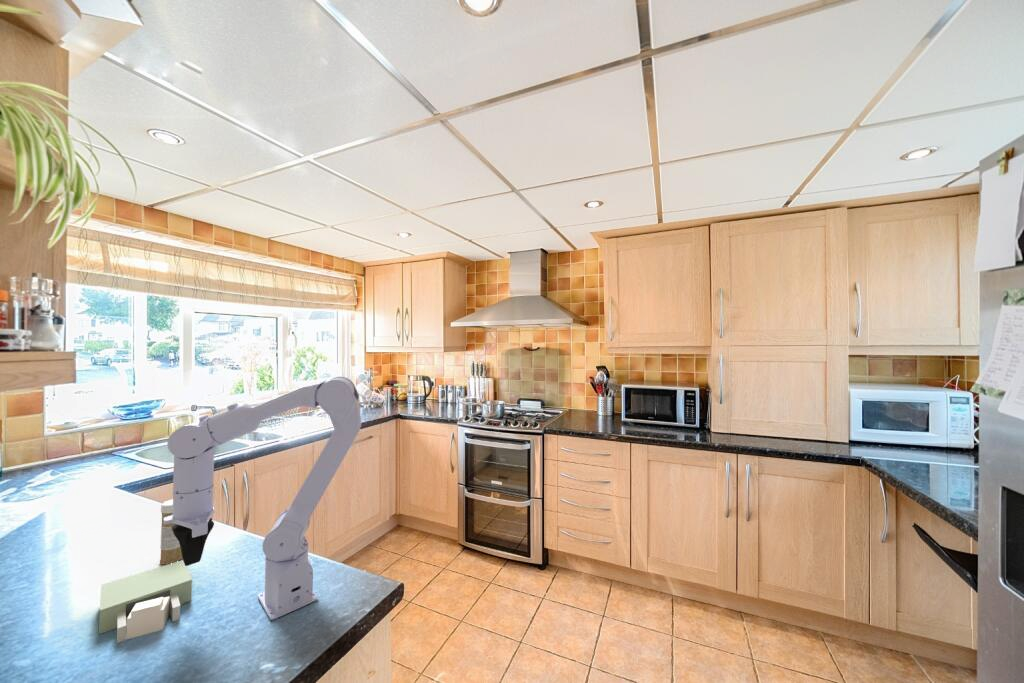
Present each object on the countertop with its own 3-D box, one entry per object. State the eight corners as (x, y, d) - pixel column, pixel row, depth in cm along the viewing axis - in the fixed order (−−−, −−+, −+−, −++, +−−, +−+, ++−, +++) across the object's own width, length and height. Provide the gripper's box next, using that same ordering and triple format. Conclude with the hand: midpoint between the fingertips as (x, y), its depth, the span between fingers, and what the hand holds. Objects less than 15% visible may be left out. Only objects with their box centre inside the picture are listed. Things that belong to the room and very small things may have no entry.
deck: (195, 613, 69) (195, 591, 69) (98, 650, 60) (98, 625, 60) (184, 578, 79) (185, 559, 79) (100, 606, 71) (101, 584, 71)
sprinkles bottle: (170, 555, 88) (172, 497, 88) (191, 554, 89) (192, 496, 89) (153, 566, 84) (155, 505, 84) (175, 565, 84) (177, 504, 84)
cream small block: (162, 629, 65) (163, 603, 65) (126, 640, 63) (126, 612, 63) (169, 615, 68) (169, 590, 69) (134, 625, 66) (135, 599, 66)
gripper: (159, 484, 71) (158, 556, 71) (169, 505, 61) (167, 589, 61) (207, 475, 76) (205, 542, 76) (223, 493, 67) (221, 571, 66)
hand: (192, 562), depth 69 cm, fingers closed
